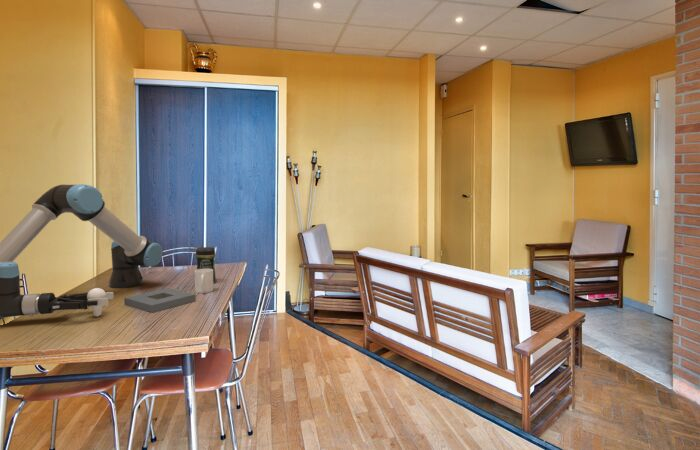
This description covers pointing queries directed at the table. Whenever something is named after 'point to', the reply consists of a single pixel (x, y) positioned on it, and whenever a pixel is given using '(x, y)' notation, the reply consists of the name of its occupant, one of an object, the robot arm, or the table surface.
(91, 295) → the lightbulb
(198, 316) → the table surface
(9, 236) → the robot arm
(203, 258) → the coffee jar
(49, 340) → the table surface
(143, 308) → the socket plate
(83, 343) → the table surface
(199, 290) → the cup
